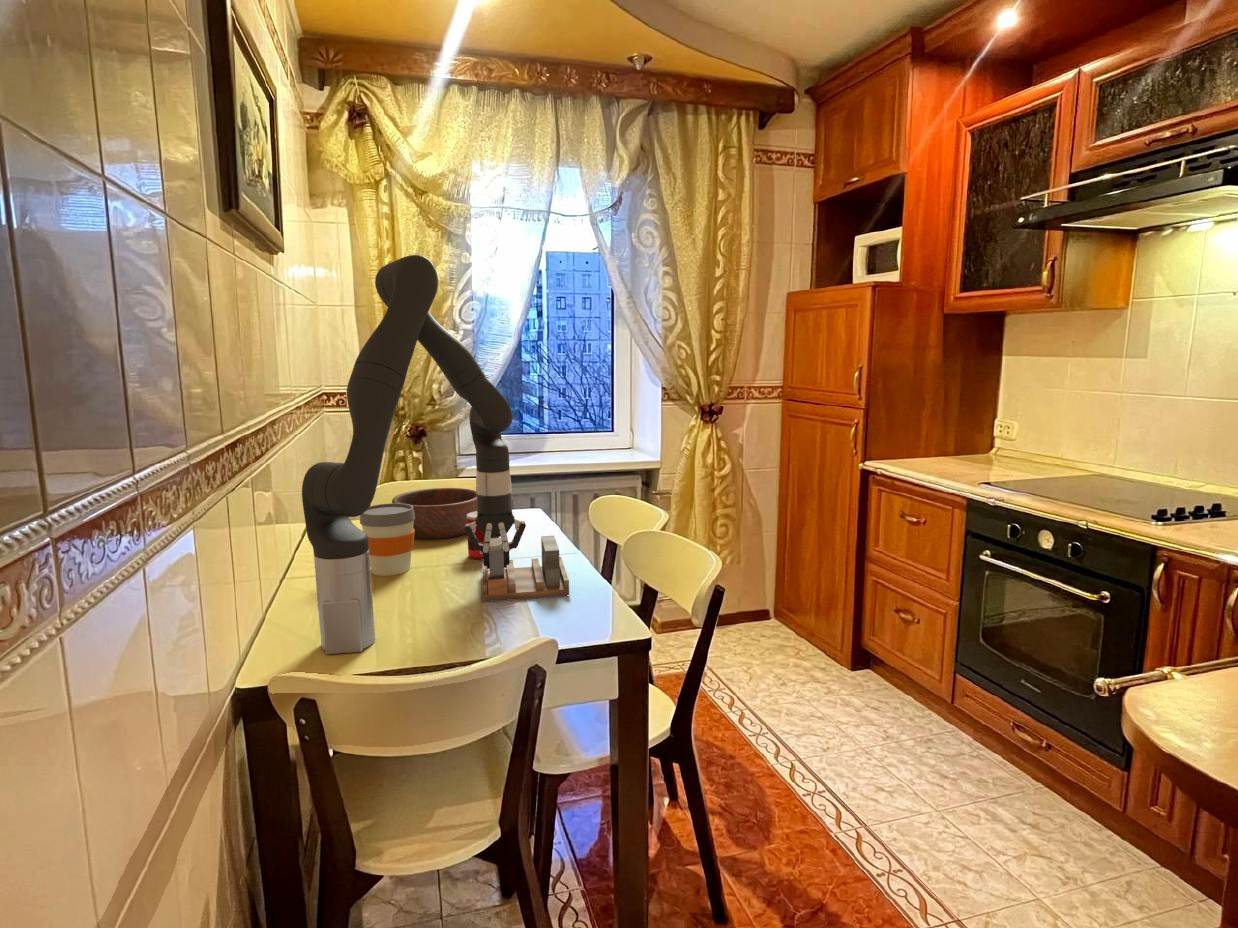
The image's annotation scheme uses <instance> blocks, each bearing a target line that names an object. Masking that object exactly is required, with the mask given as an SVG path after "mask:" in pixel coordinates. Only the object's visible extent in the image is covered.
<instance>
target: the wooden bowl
mask: <svg viewBox="0 0 1238 928" xmlns="http://www.w3.org/2000/svg"><path fill="white" fill-rule="evenodd" d="M391 503H402V504H409V505H412V506H413V509H414V514H415V520H414V523H413V528H414V529H415V534H414V539H417V540H418V539H419V540H439V539H440V540H441V539H449V538H455V537H458V536H463V535H467V533H466V531H465V524H467V514H468V513H471V512H475V511H477V495H476V489H475V490H474V489H469V488H463V487H462V488H461V487H434V488H426V489H425V488H424V489H417V490H412V491H408V492H402V493H400V494H397V495H395V496H393V498H392V500H391Z"/></svg>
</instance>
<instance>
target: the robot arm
mask: <svg viewBox="0 0 1238 928" xmlns="http://www.w3.org/2000/svg"><path fill="white" fill-rule="evenodd" d="M374 283H375V289H376V293H377V294H378V296H379V298H380V299H381V301H382V302H383V303H384V305H385V306H386V307H387V309H386V311H385V314H384V316H383V317H382V319H381V321H380V322H379V324H378V325H377V327H376V328H375V330H374V331H373V332H372V333H371V334H370V336H369V338H368V339H367V340H366V342H365V343H364V345H363V347H362V348H361V350H360V352H359V353H358V355H357V358H356V359H355V362H354V365H353V368H352V371H351V374H350V376H349V379H348V383H347V386H346V401H347V407H348V410H349V415H350V418H351V423H352V436H351V437H352V438H351V443H350V446H349V450H348V453H347V455H346V458H345V460H344V462H335V461H334V462H331V461H321V462H317V463H315V464H313V465H311V466H310V467H309V468H308V470H306V473H305V475H304V477H303V480H302V484H301V485H302V486H301V501H302V508H303V509H302V510H303V514H304V515H303V516H304V523H305V529H306V535H307V538H308V541H309V542H310V544H311V547H312V549H313V561H314V572H315V574H314V575H315V584H316V585H315V586H316V596H317V598H316V599H317V609H318V620H319V621H318V622H319V631H320V643H321V649H322V650H323V651H325V655H334V654H347V653H358V652H359V653H360V652H363V651H364V649H366V648H368V647H370V646H371V645H373V644H374V643H375V641H376V628H375V627H376V626H375V615H374V602H373V601H374V599H373V598H374V597H373V588H372V587H373V586H372V572H371V567H370V554H369V541H368V536H367V534H366V533H365V532H363V529H361V528H359V527H358V526H356V525H355V524H354V523H353V521H352V520H351V518H357V517H360V515H362V514H363V513H364V512H365V511H366V510H367V509H368V508H369V506H371V504H372V502H373V500H374V498H375V494H376V491H377V487H378V483H379V479H380V473H381V468H382V463H383V459H384V453H385V449H386V443H387V440H388V437H389V433H390V430H391V429H390V428H391V425H392V422H393V419H394V418H393V417H394V415H395V412H396V410H397V406H398V403H399V400H400V398H401V394H402V391H403V389H404V385H405V382H406V378H407V374H408V370H409V367H410V364H411V362H412V361H411V360H412V357H413V355H414V352H415V349H416V347H417V346H416V345H417V342H418V343H419V344H420V345H421V346H422V347H423V348H424V350H426V352H427V353H428V354H429V355H430V357H431V358H432V359H433V360H434V361H433V362H435V363H436V365H437V366H438V368H439V369H440V371H441V372H442V374H443V375H444V376H445V378H446V379H447V381H448V383H449V384H450V386H451V387H452V389H453V391H454V392H455V393H456V394H457V395H458V396H459V397H460V398H461V399H464V400H465V401H466V402H468V404H469V405H470V409H469V410H470V411H469V426H470V432H471V438H472V442H473V445H474V447H475V458H476V459H475V461H476V462H475V464H476V466H475V467H476V478H475V491H476V495H477V517H476V519H475V521H474V522H472V523H470V524H468V523H467V524H465V531H466V535H468V537H469V539H470V541H471V543H472V545H473V547H474V549H475V550H479V551H482V552H483V560H482V564H483V563H484V566H487V570H490V563H489V544H490V537H495V536H498V537H499V538H501V539H502V543H503V553H504V569H507V565H509V563H510V560H511V559H510V551H511V550H513V549H517V548H518V546H519V544H520V541H521V539H522V538H523V537H522V536H523V535H524V531H525V530H526V527H527V526H526V521H524V520H518V519H516V518H515V516H514V514H513V499H512V498H513V495H512V494H513V493H512V477H511V471H510V452H509V447H508V446H507V444H506V443H505V442H504V441H503V438H502V433H503V432H505V431H507V430H508V429H510V427H511V425H512V424H513V423H512V422H513V418H514V416H513V411H512V408H511V406H510V404H509V402H508V401H507V399H506V398H505V396H504V395H503V394H502V393H501V392H500V391H499V389H498V388H496V386H495V385H494V384H493V383H492V382H491V381H490V380H489V379H488V378H487V377H486V375H485V372H484V371H483V369H482V368H481V366H480V364H479V363H478V362H477V360H476V358H475V357H474V355H473V354H472V353H471V351H470V350H469V348H467V346H466V345H465V344H464V343H463V342H461V341H460V340H459V339H458V338H457V337H456V336H454V335H453V333H451V332H449V331H448V330H447V329H446V328H444V326H442V324H440V323H439V322H438V321H437V320H436V318H435V317H434V316H432V314H431V312H430V309H431V307H432V305H433V302H434V300H435V298H436V295H437V292H438V287H439V277H438V271H437V270H436V267H435V265H434V264H433V263H432V261H431V260H430V259H429V258H427V257H425V256H423V255H420V254H411V255H405V256H403V257H400V258H398V259H396V260H394V261H392V262H389V263H387V264H385V265H383V266H382V267H380V268H379V270H378V271H377V273H376V276H375V280H374ZM513 525H514V529H515V533H514V536H513V538H512V540H511V541H509V539H508V535H507V534H508V532H509V531H510V529H511V528H512V527H513ZM476 526H478V528H479V529H480V530H481V531H482V532H483V533H484V535H485V536H484V543H483V544H480V543H479V541H478V539H477V537H476V535H475V531H476V528H475V527H476Z"/></svg>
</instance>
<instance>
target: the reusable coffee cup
mask: <svg viewBox="0 0 1238 928" xmlns="http://www.w3.org/2000/svg"><path fill="white" fill-rule="evenodd" d="M414 520H415V514H414V509H413V506H412V505H409V504H402V503H392V502H391V503H380V504H374V505H370V506H369V508H368V509H367V510H366V511H365V512H364V513H363V514H362V515H360V516H359V524H360V525H361V527H362V529H361V530H362V531H363V532H365V533H366V534H367V536H368V541H369V554H370V570H371V574H373V575H375V576H381V577H382V576H383V577H387V576H397V575H401V574H404V573H407V572H408V571H410V570H411V565H412V564H411V563H412V550H413V549H414V548H415V547H414V545H415V544H414V543H415V538H414V534H415V529H414V528H413V523H414Z"/></svg>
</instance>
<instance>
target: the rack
mask: <svg viewBox="0 0 1238 928" xmlns="http://www.w3.org/2000/svg"><path fill="white" fill-rule="evenodd" d="M540 537H541V538H540V539H541V541H540V542H541V548H540V549H541V566H540V560H539V558H531V566H525V567H514V559H510V563H509V565H507V568H504V579H490V569H487V566H484V563H483V562H482V577H481V578H482V579H481V584H482V586H481V587H482V588H481V589H482V590H481V591H482V603H487V602H500V601H501V602H502V601H514V600H527V599H529V600H530V599H543V598H544V597H545V598H555V597H557V598H558V596H559V597H568V596H567V595H569V596H570V579H569V576H568V573H567V571H566V568H565V565H564V561H563V559H562V557H561V556H560V549H559V546H558V542H557V539H556V537H555V535H541V536H540Z"/></svg>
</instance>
